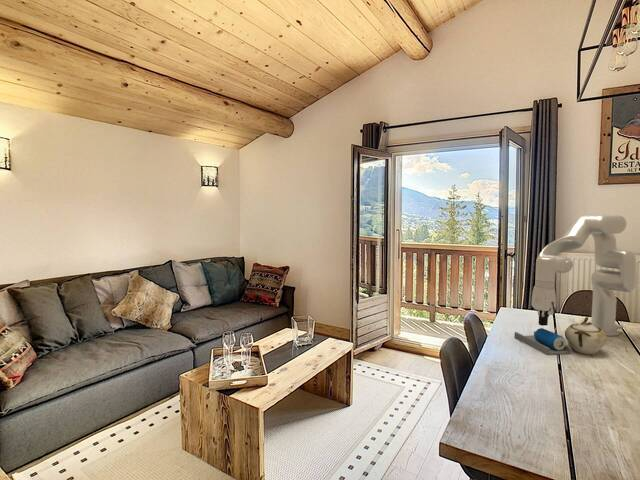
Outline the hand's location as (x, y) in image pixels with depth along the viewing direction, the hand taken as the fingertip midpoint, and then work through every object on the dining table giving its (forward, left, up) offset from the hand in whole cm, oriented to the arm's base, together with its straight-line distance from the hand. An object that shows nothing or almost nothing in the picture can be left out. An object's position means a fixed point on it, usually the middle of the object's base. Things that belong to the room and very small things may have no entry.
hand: (543, 324), depth 167 cm
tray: (0, -1, -10) cm, 10 cm away
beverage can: (-1, -4, -6) cm, 7 cm away
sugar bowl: (-14, +7, -10) cm, 19 cm away
